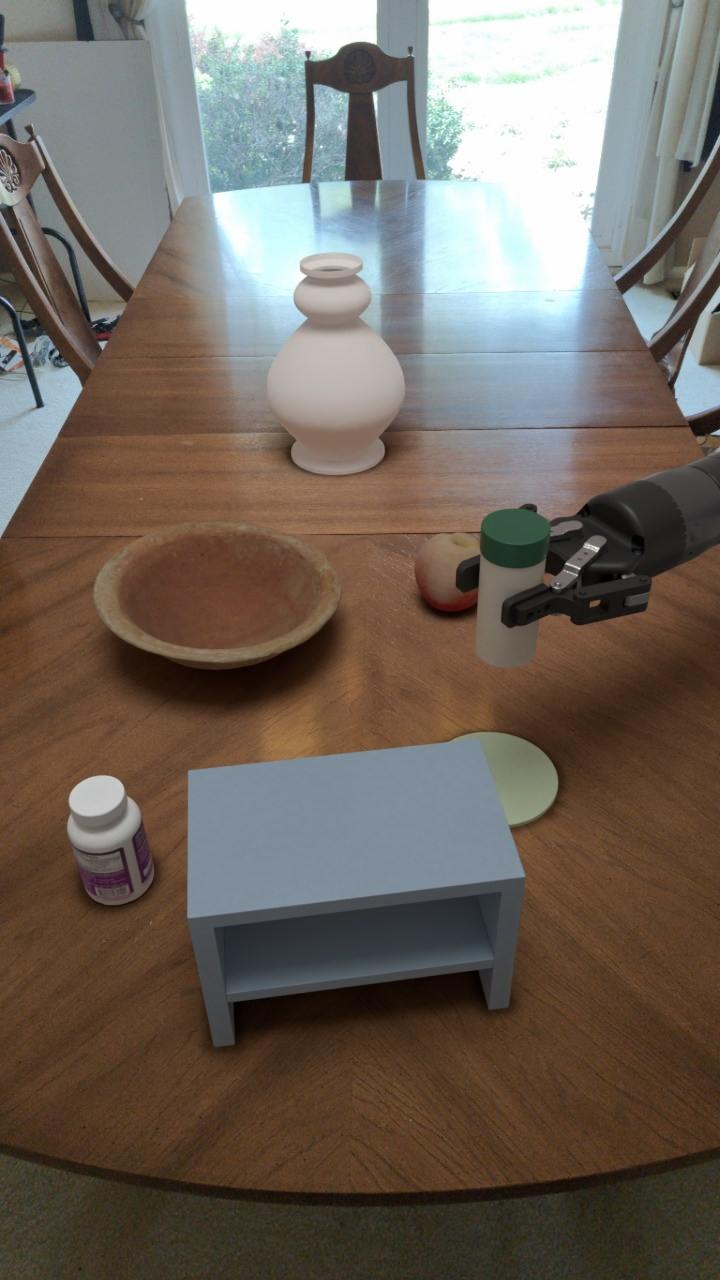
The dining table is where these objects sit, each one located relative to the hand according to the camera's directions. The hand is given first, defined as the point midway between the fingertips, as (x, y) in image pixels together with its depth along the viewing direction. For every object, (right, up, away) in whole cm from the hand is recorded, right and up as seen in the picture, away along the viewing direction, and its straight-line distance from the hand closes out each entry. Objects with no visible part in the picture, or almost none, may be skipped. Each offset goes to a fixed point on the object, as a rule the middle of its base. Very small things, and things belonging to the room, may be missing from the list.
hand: (481, 596), depth 70 cm
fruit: (+1, +1, +34) cm, 34 cm away
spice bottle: (+2, -4, +5) cm, 7 cm away
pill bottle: (-27, -22, +6) cm, 35 cm away
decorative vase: (-12, +22, +62) cm, 66 cm away
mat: (+3, -15, +13) cm, 20 cm away
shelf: (-9, -26, 0) cm, 27 cm away
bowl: (-22, -3, +30) cm, 37 cm away
